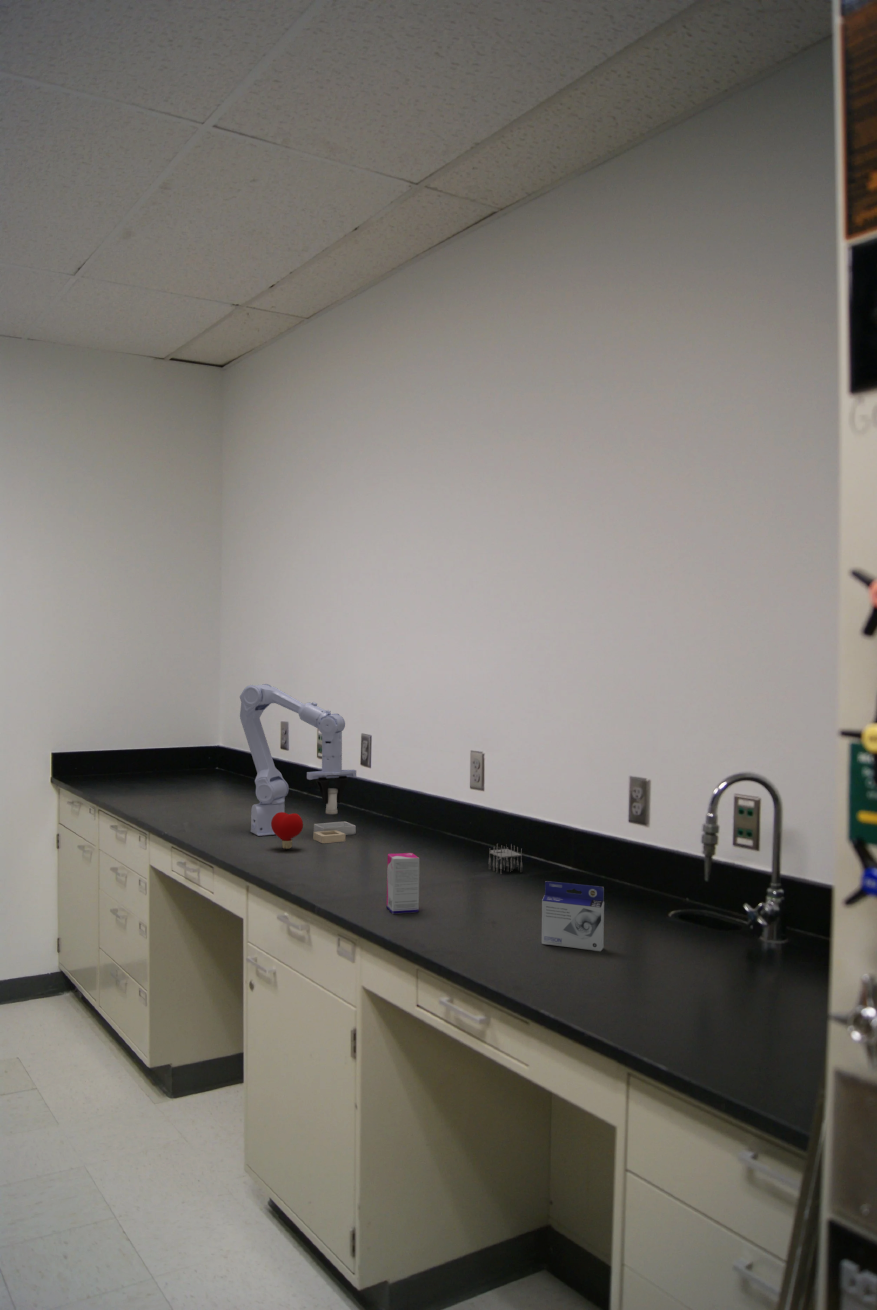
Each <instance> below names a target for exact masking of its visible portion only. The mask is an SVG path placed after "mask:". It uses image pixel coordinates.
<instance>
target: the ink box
mask: <svg viewBox="0 0 877 1310" xmlns="http://www.w3.org/2000/svg"><path fill="white" fill-rule="evenodd" d="M544 889H545V890H544V895H543V898H542V899H541V945H548V946H557V947H563V948H564V947H565V948H574V949H579V950H580V949H581V950H586V951H587V950H588V951H594V952H602V950H603V949H604V936H605V935H604V933H605V931H604V929H605V928H604V925H605V922H604V921H605V901H604V900H605V899H604V898H605V897H604V896H605V888H604V886H599V885H589V884H580V883H579V884H578V883H570V882H558V881H549V880H545V881H544ZM573 890H575V891H578V892H581V893H575V892H574V893H573V892H568V891H573Z"/></svg>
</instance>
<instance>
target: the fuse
mask: <svg viewBox="0 0 877 1310" xmlns="http://www.w3.org/2000/svg"><path fill="white" fill-rule="evenodd" d="M337 793H338V789H336V788H334V787H333V788H330V787H328V804H325V805H326V806H325V807H326V808H325V814H326V815H337V814H338V808H337V807H338V803H337Z"/></svg>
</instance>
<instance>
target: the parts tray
mask: <svg viewBox="0 0 877 1310" xmlns="http://www.w3.org/2000/svg"><path fill="white" fill-rule="evenodd" d="M331 830H337V831H340V832H342V833H344V834H345V836H351V835H352V836H353V835H356V831H357V830H356V825H355V824H353V823H350V822H347V821H334V822H325V823H324V822H323V823H313V832H320V831H331Z"/></svg>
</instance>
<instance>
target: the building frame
mask: <svg viewBox="0 0 877 1310" xmlns="http://www.w3.org/2000/svg"><path fill="white" fill-rule="evenodd" d="M498 845H499V843H496V847H495V845H493V849H489V854H490V855H489V857H488V863H487V864H488V865H489V870H491V867H493V872H496V874H497V873H498V868H499V869H500V875H502V870H503V871H505V868H506V867H507V871H509V868H510V869H512V870H514V869H515V866H519V868H520V873H522V868H523V862H522V861H523V860H522V858H523V857H522V856H523V855H522V852H523V851H522V849H523V848H520V853H519V847H518V846H517V847H516V846H515V845H513V846H512V843H511V844H510V849H509V848H506V846H503V845H501V846H500V847H501V849H498ZM512 847H513V848H512ZM515 847H516V848H515ZM515 849H516V850H517V851H515ZM491 855H493V861H492V858H491ZM519 857H520V863H519ZM495 858H496V859H495ZM515 858H517V860H516V859H515ZM509 859H510V862H509ZM499 860H500V864H499ZM509 863H510V865H509ZM491 864H492V865H491ZM495 868H496V869H495ZM495 870H496V871H495Z"/></svg>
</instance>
